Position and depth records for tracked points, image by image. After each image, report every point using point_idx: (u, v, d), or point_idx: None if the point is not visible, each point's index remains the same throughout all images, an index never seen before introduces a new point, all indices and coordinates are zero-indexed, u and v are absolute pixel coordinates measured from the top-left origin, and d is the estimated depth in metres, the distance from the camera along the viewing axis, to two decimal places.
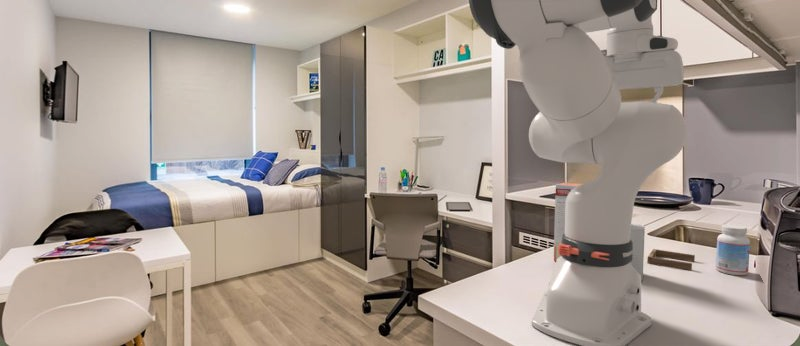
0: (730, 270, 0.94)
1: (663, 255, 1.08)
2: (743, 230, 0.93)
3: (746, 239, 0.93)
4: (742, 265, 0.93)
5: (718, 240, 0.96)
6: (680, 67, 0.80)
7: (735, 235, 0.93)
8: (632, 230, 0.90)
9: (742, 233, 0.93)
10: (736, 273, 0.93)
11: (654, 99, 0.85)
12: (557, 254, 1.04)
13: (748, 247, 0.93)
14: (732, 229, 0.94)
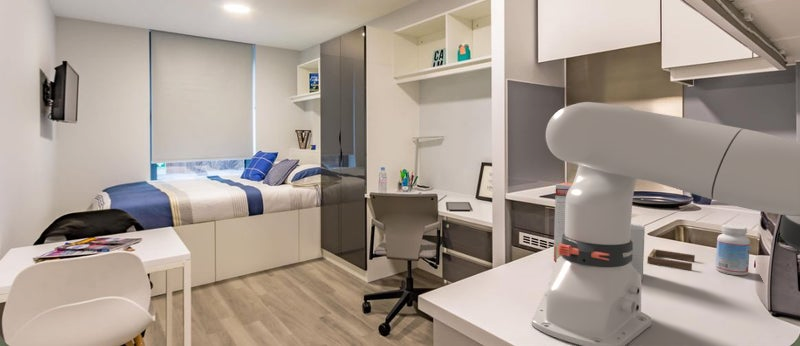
0: (730, 270, 0.94)
1: (663, 255, 1.08)
2: (743, 230, 0.93)
3: (746, 239, 0.93)
4: (742, 265, 0.93)
5: (718, 240, 0.96)
6: None
7: (735, 235, 0.93)
8: (632, 230, 0.90)
9: (742, 233, 0.93)
10: (736, 273, 0.93)
11: None
12: (557, 254, 1.04)
13: (748, 247, 0.93)
14: (732, 229, 0.94)
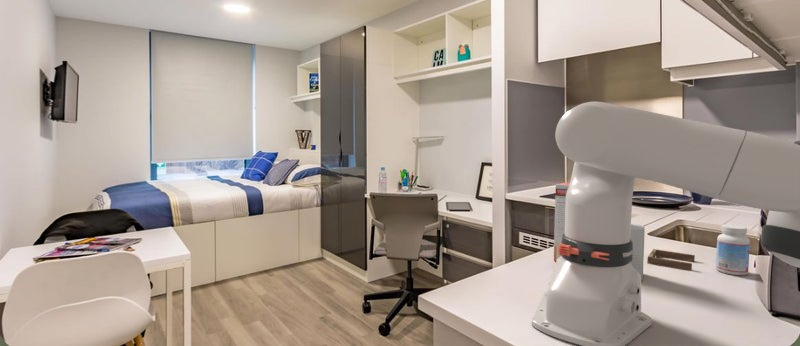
0: (730, 270, 0.94)
1: (663, 255, 1.08)
2: (743, 230, 0.93)
3: (746, 239, 0.93)
4: (742, 265, 0.93)
5: (718, 240, 0.96)
6: None
7: (735, 235, 0.93)
8: (632, 230, 0.90)
9: (742, 233, 0.93)
10: (736, 273, 0.93)
11: None
12: (557, 254, 1.04)
13: (748, 247, 0.93)
14: (732, 229, 0.94)
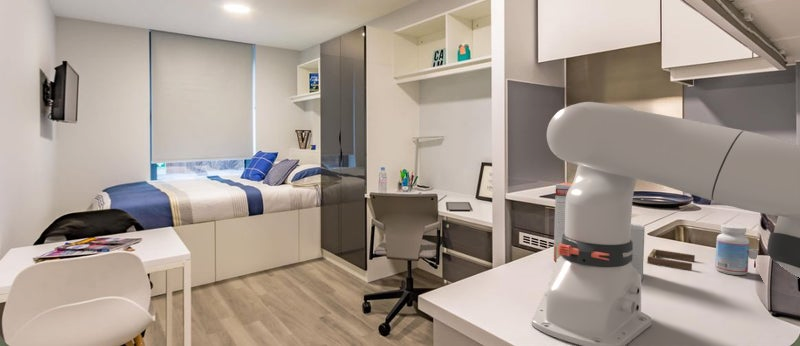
0: (730, 269, 0.94)
1: (663, 255, 1.08)
2: (742, 230, 0.93)
3: (745, 239, 0.93)
4: (742, 265, 0.93)
5: (717, 240, 0.96)
6: None
7: (735, 235, 0.93)
8: (632, 230, 0.90)
9: (741, 233, 0.93)
10: (735, 273, 0.93)
11: None
12: (557, 254, 1.04)
13: (747, 247, 0.93)
14: (731, 229, 0.94)
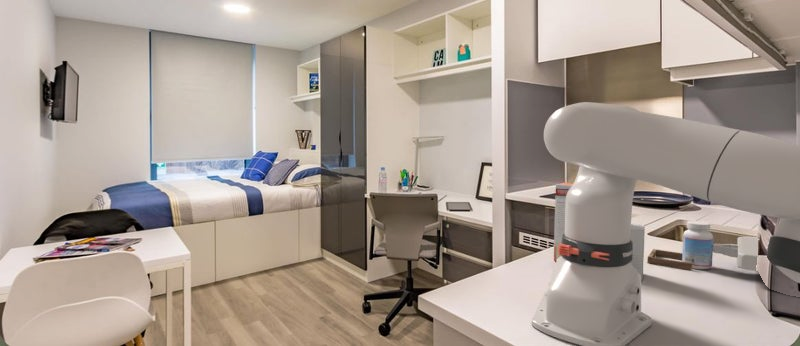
0: (696, 264, 0.98)
1: (663, 255, 1.08)
2: (707, 226, 0.97)
3: (710, 234, 0.97)
4: (707, 259, 0.97)
5: (684, 236, 1.00)
6: None
7: (700, 231, 0.98)
8: (632, 230, 0.90)
9: (706, 229, 0.97)
10: (702, 267, 0.97)
11: None
12: (557, 254, 1.04)
13: (712, 242, 0.97)
14: (697, 225, 0.98)
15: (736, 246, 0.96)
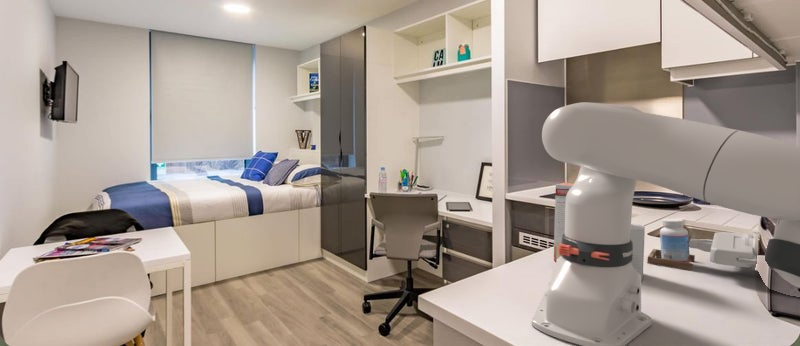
0: (674, 260, 1.00)
1: None
2: (681, 222, 1.00)
3: (684, 230, 1.00)
4: (684, 255, 1.00)
5: (661, 234, 1.03)
6: None
7: (675, 228, 1.00)
8: (632, 230, 0.90)
9: (680, 225, 1.00)
10: None
11: None
12: (557, 254, 1.04)
13: (687, 237, 1.00)
14: (671, 222, 1.01)
15: (711, 241, 0.99)
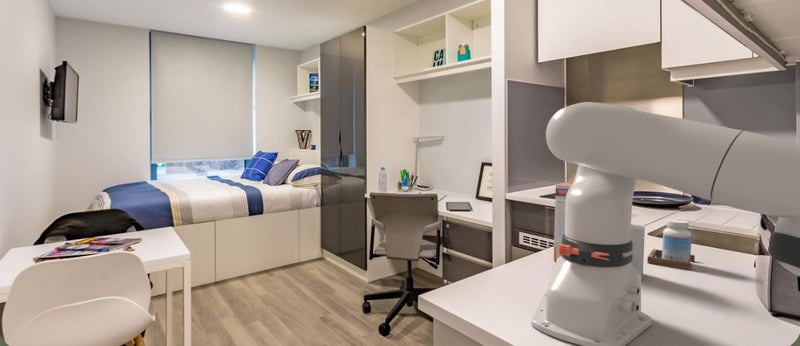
0: None
1: None
2: (686, 224, 0.99)
3: (688, 232, 1.00)
4: (685, 257, 0.99)
5: (664, 234, 1.03)
6: None
7: (679, 229, 1.00)
8: (632, 230, 0.90)
9: (685, 227, 1.00)
10: None
11: None
12: (557, 254, 1.04)
13: (690, 240, 1.00)
14: (676, 223, 1.00)
15: None
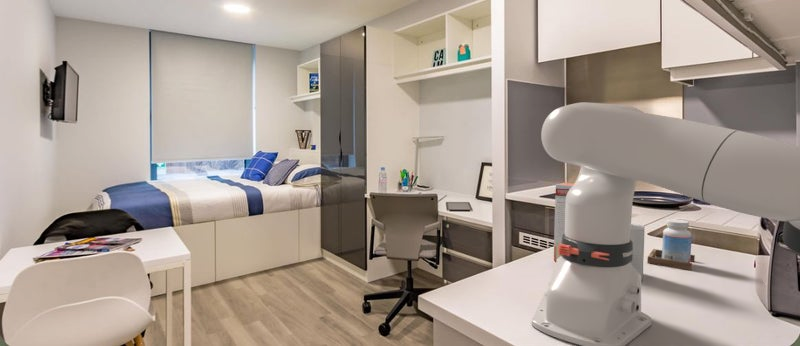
0: None
1: None
2: (686, 224, 0.99)
3: (688, 232, 1.00)
4: (685, 257, 0.99)
5: (664, 234, 1.03)
6: None
7: (679, 229, 1.00)
8: (632, 230, 0.90)
9: (685, 227, 1.00)
10: None
11: None
12: (557, 254, 1.04)
13: (690, 240, 1.00)
14: (676, 223, 1.00)
15: None
